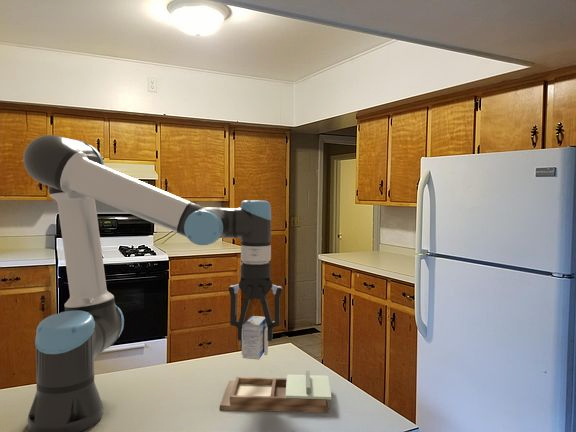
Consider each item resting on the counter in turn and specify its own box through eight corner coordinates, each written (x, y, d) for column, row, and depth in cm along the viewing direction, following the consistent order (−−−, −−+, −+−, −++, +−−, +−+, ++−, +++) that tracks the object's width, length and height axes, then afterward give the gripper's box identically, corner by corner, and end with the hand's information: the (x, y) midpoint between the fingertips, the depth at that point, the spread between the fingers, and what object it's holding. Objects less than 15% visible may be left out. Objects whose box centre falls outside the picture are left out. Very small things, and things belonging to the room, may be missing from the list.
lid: (285, 397, 107) (285, 389, 106) (287, 376, 119) (287, 368, 119) (331, 399, 106) (331, 390, 106) (328, 377, 119) (328, 369, 118)
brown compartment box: (219, 409, 106) (219, 398, 106) (229, 384, 120) (229, 374, 120) (328, 412, 106) (328, 402, 105) (325, 387, 120) (325, 377, 119)
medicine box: (259, 360, 108) (260, 325, 108) (241, 358, 109) (242, 324, 109) (267, 349, 116) (267, 316, 115) (250, 347, 117) (251, 315, 116)
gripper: (217, 263, 108) (216, 357, 109) (291, 264, 107) (290, 359, 109) (222, 258, 115) (222, 347, 116) (292, 260, 115) (290, 348, 116)
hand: (254, 352), depth 112 cm, fingers closed on medicine box, 5 cm apart
